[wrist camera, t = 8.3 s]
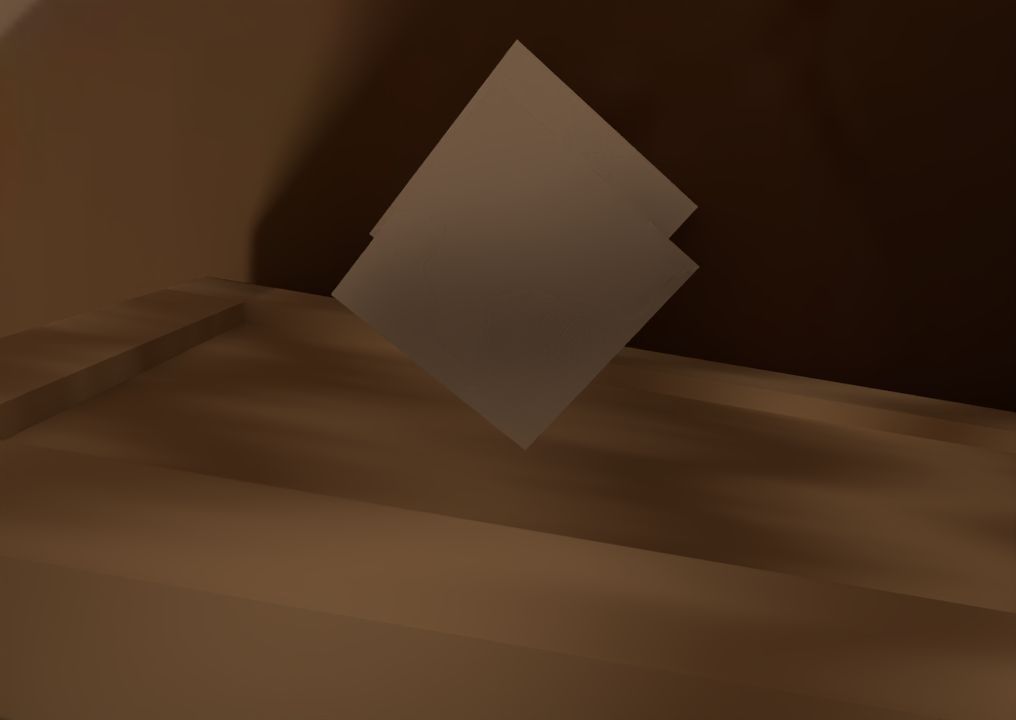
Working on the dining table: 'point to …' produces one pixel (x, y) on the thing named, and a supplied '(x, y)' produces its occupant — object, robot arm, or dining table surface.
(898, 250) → the dining table surface
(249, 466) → the wooden panel
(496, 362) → the stop post
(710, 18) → the dining table surface
